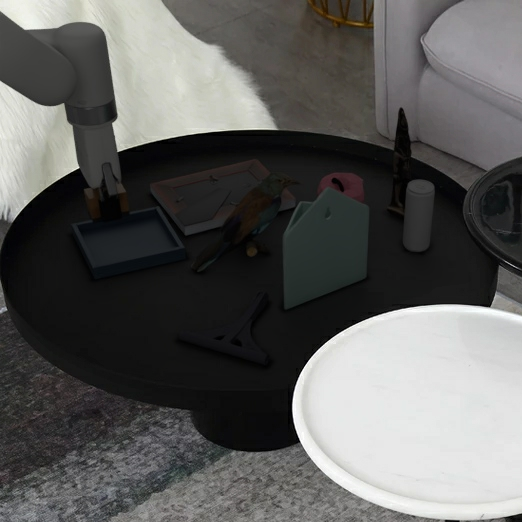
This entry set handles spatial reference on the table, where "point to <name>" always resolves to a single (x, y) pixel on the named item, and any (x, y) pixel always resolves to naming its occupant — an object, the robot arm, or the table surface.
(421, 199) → the beverage can
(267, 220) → the bird figurine
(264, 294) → the bracket
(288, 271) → the planter
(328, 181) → the apple
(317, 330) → the table surface
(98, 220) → the brown wooden block
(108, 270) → the tray
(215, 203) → the picture frame
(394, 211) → the statue
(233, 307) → the table surface
